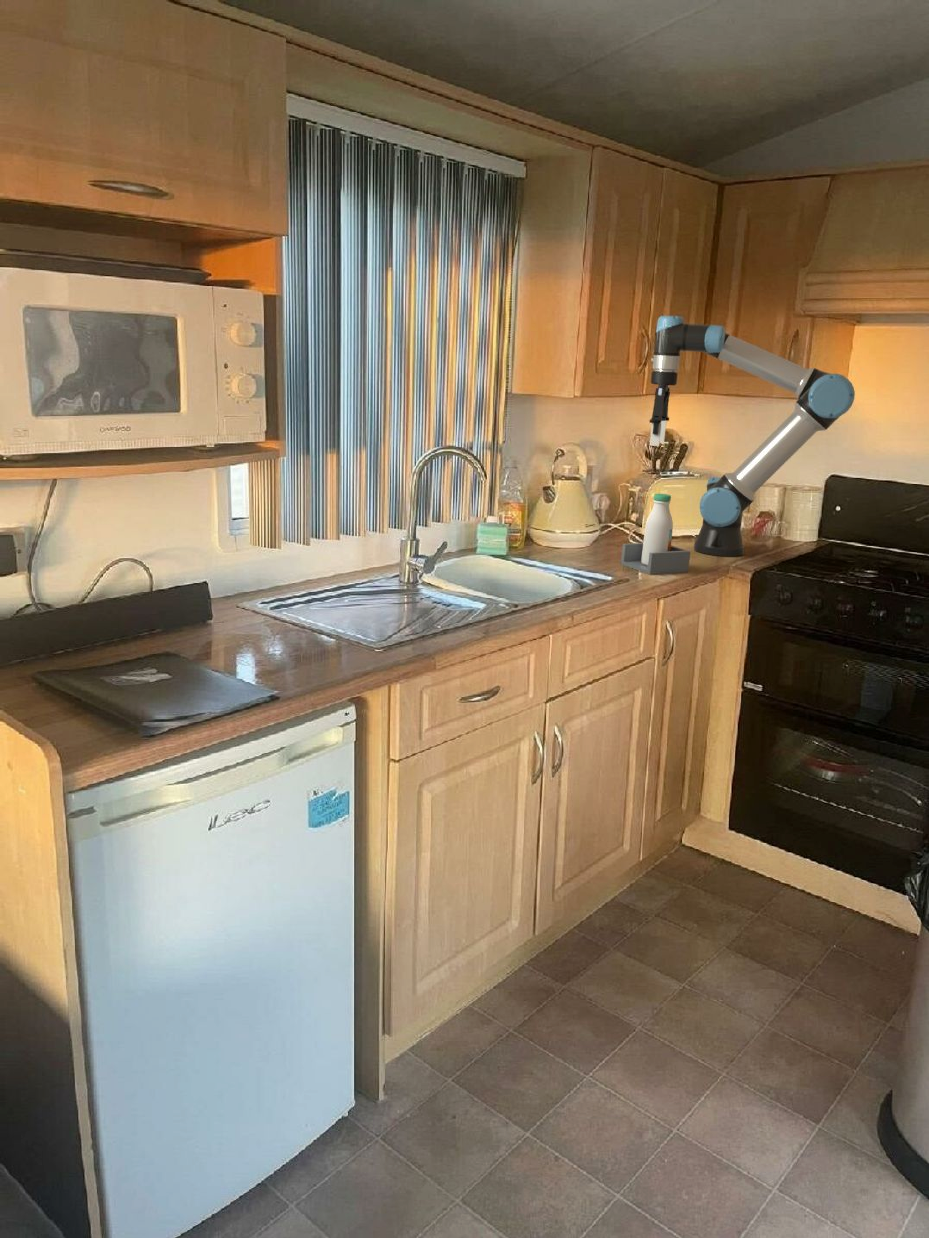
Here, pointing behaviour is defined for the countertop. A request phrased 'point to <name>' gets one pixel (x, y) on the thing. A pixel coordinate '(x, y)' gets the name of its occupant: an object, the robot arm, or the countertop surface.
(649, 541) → the milk bottle
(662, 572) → the tray
